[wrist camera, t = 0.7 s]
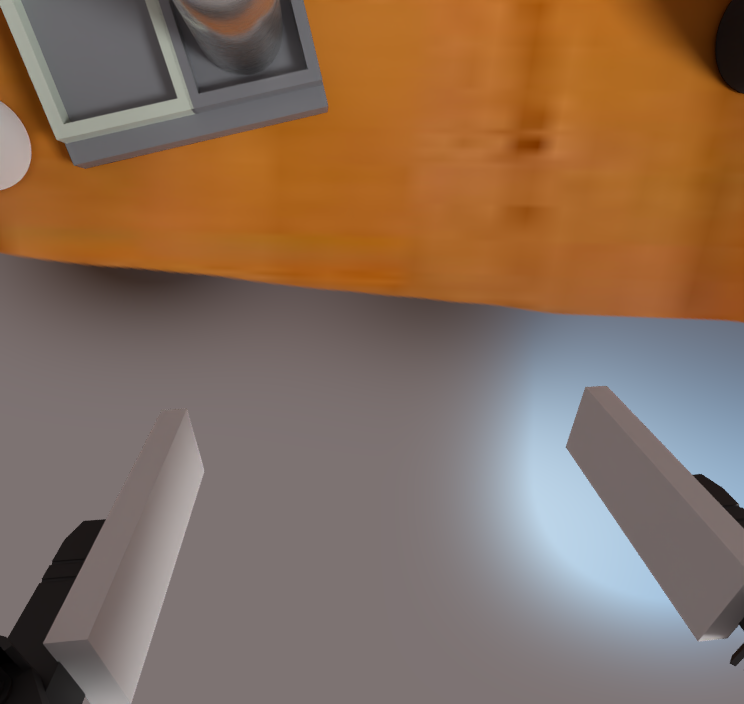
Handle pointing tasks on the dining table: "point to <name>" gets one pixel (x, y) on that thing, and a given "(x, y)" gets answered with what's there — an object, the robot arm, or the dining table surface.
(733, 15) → the pen holder
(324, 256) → the dining table surface
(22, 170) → the can
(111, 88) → the pocket board
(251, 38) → the seated cylinder
